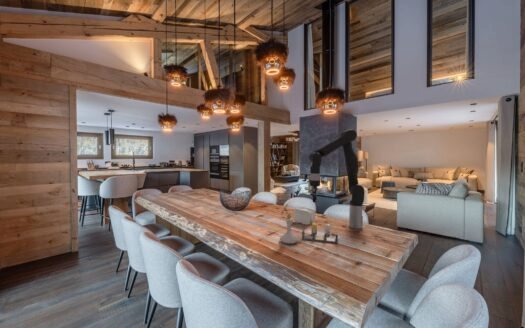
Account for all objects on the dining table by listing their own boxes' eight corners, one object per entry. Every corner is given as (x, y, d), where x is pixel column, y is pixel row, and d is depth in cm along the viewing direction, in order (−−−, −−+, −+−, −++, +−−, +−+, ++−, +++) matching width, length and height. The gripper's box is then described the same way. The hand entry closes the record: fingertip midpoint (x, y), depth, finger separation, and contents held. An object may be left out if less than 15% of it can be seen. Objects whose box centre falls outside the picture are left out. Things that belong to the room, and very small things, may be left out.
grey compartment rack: (337, 240, 148) (337, 231, 148) (337, 243, 143) (337, 234, 142) (302, 236, 154) (303, 228, 154) (302, 239, 148) (302, 231, 148)
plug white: (330, 234, 160) (330, 224, 160) (330, 235, 156) (330, 225, 156) (324, 233, 161) (325, 223, 160) (324, 235, 157) (324, 225, 157)
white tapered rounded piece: (285, 237, 152) (285, 200, 151) (300, 241, 146) (301, 202, 145) (274, 243, 142) (275, 203, 141) (291, 248, 135) (291, 206, 134)
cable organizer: (315, 223, 185) (316, 209, 184) (308, 226, 177) (308, 211, 177) (300, 219, 196) (300, 206, 195) (293, 222, 188) (293, 208, 188)
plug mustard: (316, 233, 161) (317, 223, 161) (316, 234, 158) (316, 224, 158) (311, 232, 162) (311, 223, 162) (311, 234, 159) (311, 224, 158)
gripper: (319, 180, 161) (319, 203, 162) (320, 178, 175) (320, 199, 176) (308, 180, 164) (308, 202, 164) (310, 178, 177) (310, 199, 178)
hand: (314, 201), depth 170 cm, fingers open, 8 cm apart
